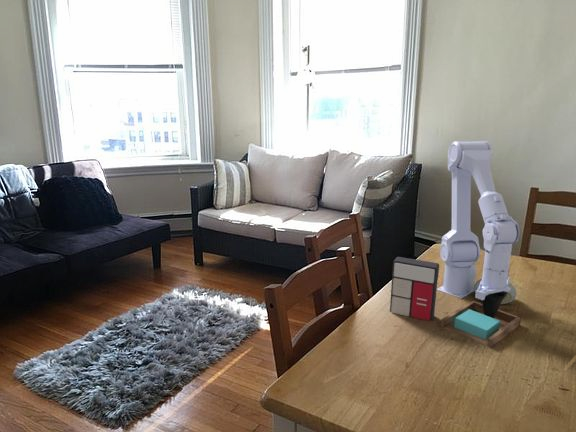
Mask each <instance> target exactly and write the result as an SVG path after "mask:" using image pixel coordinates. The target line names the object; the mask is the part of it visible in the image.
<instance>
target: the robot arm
mask: <svg viewBox="0 0 576 432" xmlns="http://www.w3.org/2000/svg"><path fill="white" fill-rule="evenodd" d="M492 158H493V148H492V145H491V143H490V142H489V141H488V140H482V141H479V140H478V141H458V140H454V141H453V142H451V144H450V146H449V148H448V150H447V171H448V172H450V173H451V230H449V231H448V232H447V233H445V234H444V235H443V236H442V237H441V244H440V247H439V255H440V258H441V260H442V261H443V263H444V264H445V265H444V273H443V281H442V282H443V283H442V285H441V286H440V287H438V288H437V290H436V291H439V292H443V293H445V294H448V295H451V296H454V297H456V298H459V299H463V298H465V297H467V296H468V295H470V294H472V293H475V291H474V285H475V283H476V276H477V267H476V265H475V263H476V262H478V261H479V259H480V258H481V247H480V242H479V241H480V240H479V237H478V236H477V234H475V233H474V232H472V230H471V209H472V207H471V205H472V204H471V202H472V201H471V200H472V199H471V198H472V195H471V193H472V191H471V190H472V189H471V188H472V187H471V186H472V177H473V180H474V182H475V185H476V186H477V190H478V191H479V194H480V198H479V199H478V201H477V203H478V206H479V209H480V210H479V211H480V213H481V215H482V218H483V219H482V220H483V222H484V227H483V228H482V237H483V249H484V250H485V251H484V260H483V266H482V276H481V279H482V280H481V282H480V285H479V288H478V290H476V293H475V297H474V298H475V299H477V300H481V304H483V310H484V315H486V316H489V317H491V318H494V317H495V315H496V313H497V311H498V310H499V307H500V305H502V304H501V302H502V300H503V299H504V298H505V296H506V295H507V292H509V291H511V287H508V286H507V285H509V284H510V283H511V277H510V276H509V277H508V271H509V272H510V264H511V258H512V257H511V255H512V249H513V244H516V243H517V242H518V241H519V238H520V228H519V223H518V222H517V221H516V220H514V219H513V217H512V216H511V215H509V212H508V208H507V205H506V204H505V200H504V198H503V195H502V194H501V193H499V192H497V191H496V187H495V183H494V178H493V173H492V169H491V165H490V164H491V162H492Z"/></svg>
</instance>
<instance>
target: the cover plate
mask: <svg viewBox="0 0 576 432" xmlns="http://www.w3.org/2000/svg"><path fill="white" fill-rule="evenodd" d="M454 327H455V328H458V329H460V330H463V331H465V332H467V333H470V334H472V335H475V336H477V337H480V338H482V339H484V340H486V339H488V338H489V337H490V336H492V335H493V334H494V333H496V332H497V331H498V330H499V327H500V321H499V320H497V319H494V318H491V317H489V316H486V315H483V314H481V313H478V312H475V311H473V310H470V309H469V310H467V311H466V312H464V313H462V314H461V315H459V316H458V317H456V318H455V324H454Z"/></svg>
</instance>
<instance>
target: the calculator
mask: <svg viewBox="0 0 576 432" xmlns="http://www.w3.org/2000/svg"><path fill="white" fill-rule="evenodd" d="M439 270H440V264H439V263H436V262H432V261H426V260H420V259H414V258H407V257H402V256H397V257H396V258H395V259H394V260H393V262H392V273H391V276H392V277H391V288H390V289H391V290H390V304H389V306H390V307H389V311H390V313H392V314H396V315H401V316H405V317H411V318H413V319H419V320H422V321H427V322H429V321H433V319H434V317H435V310H436V309H435V307H436V302H437V301H436V297H437V291H438V290H437V287H438V280H439V273H440V271H439Z"/></svg>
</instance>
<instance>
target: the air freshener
mask: <svg viewBox="0 0 576 432" xmlns="http://www.w3.org/2000/svg"><path fill="white" fill-rule="evenodd" d="M508 277H510V270H509V271H508ZM481 280H482V278H480V279H478V280H477V281H475V285H474V291H475V292H474V293H475V294H476V290H478V288H479V285H480V282H481ZM507 286H508V287H511V291H509V292H507V295H506V296H505V298H504V299H503V300H502V302H501V304H500V305H505V304H509V303H511V302H512V301H514V300H515V299H516V298H517V294H518V293H517V288H516V287H515V286H514V285H513V283H512V282H510V284H509V285H507Z"/></svg>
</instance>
